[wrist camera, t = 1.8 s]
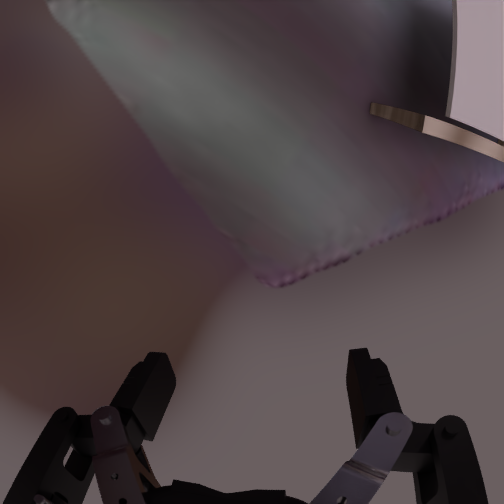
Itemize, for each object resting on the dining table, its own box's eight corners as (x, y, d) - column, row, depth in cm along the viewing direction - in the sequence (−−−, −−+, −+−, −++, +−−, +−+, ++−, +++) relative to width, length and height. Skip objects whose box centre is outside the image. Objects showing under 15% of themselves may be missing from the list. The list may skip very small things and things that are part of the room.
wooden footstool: (512, 45, 19) (575, 51, 7) (500, 156, 30) (561, 192, 18) (378, -22, 20) (427, -61, 8) (369, 113, 31) (422, 132, 19)
